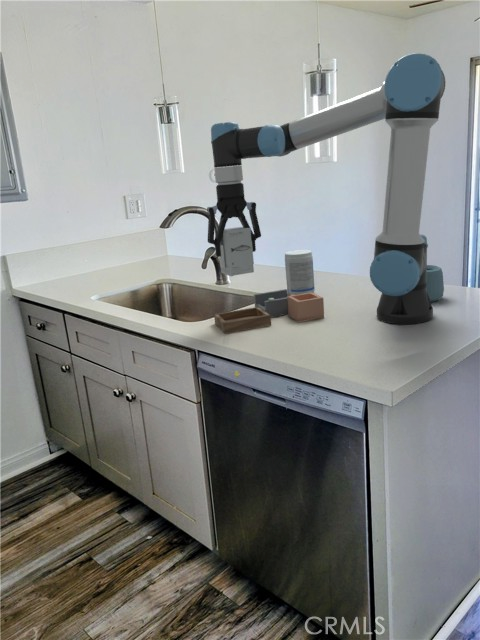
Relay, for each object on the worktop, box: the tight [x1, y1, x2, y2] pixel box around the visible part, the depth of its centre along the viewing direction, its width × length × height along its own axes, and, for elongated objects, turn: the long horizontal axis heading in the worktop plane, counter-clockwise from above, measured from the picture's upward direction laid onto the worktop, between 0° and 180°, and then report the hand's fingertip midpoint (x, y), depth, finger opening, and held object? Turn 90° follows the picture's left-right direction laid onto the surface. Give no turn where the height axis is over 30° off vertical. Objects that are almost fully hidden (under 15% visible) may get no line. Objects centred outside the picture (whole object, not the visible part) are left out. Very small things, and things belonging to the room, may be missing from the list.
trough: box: [213, 306, 272, 334], centre depth 154 cm, size 11×14×3 cm
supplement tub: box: [284, 249, 316, 296], centre depth 182 cm, size 10×10×15 cm
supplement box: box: [220, 226, 255, 277], centre depth 148 cm, size 7×7×13 cm
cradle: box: [253, 288, 295, 318], centre depth 164 cm, size 12×11×6 cm
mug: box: [427, 264, 445, 303], centre depth 163 cm, size 15×11×10 cm
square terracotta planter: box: [287, 292, 325, 323], centre depth 155 cm, size 8×8×6 cm
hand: (237, 265), depth 149 cm, fingers closed on supplement box, 8 cm apart
